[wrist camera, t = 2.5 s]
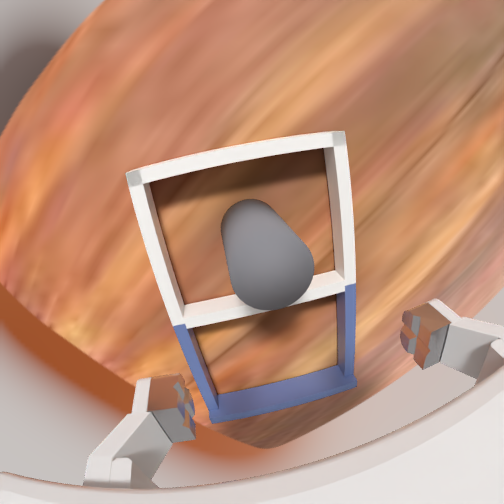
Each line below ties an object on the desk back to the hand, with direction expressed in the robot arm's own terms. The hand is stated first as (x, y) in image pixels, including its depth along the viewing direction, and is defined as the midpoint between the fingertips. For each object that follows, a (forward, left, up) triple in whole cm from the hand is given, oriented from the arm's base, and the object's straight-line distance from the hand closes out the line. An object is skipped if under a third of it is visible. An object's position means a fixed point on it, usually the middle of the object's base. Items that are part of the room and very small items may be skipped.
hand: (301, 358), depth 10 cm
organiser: (0, +6, -14) cm, 15 cm away
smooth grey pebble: (0, 0, -14) cm, 14 cm away
